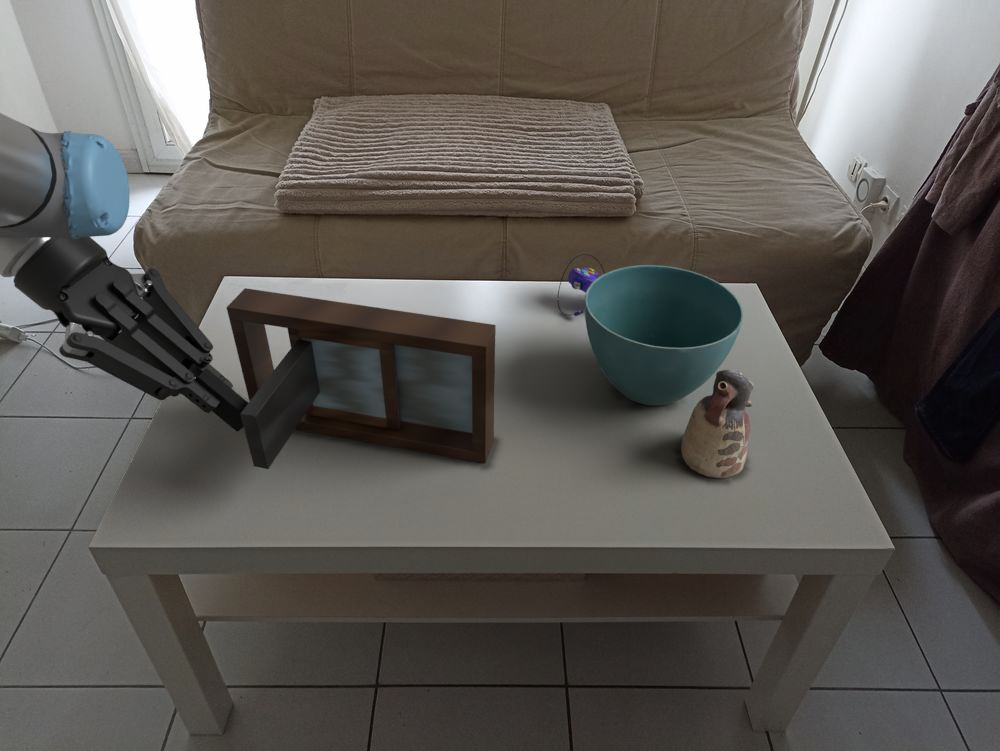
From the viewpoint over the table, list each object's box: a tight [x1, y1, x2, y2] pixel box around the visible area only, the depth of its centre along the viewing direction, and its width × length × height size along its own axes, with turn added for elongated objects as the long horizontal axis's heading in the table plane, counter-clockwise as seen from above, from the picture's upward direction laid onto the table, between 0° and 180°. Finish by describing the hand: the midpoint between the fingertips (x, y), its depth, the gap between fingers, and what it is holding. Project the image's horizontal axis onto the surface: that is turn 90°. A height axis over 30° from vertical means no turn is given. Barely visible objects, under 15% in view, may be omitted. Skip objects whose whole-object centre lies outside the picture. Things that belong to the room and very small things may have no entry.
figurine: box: [680, 369, 755, 479], centre depth 81 cm, size 7×7×12 cm
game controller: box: [557, 253, 606, 317], centre depth 108 cm, size 10×8×10 cm
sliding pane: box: [240, 328, 401, 470], centre depth 78 cm, size 12×13×12 cm
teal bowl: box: [584, 264, 744, 407], centre depth 91 cm, size 18×18×12 cm
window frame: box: [226, 287, 497, 464], centre depth 82 cm, size 28×4×16 cm, turn 77°
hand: (247, 421), depth 75 cm, fingers closed
